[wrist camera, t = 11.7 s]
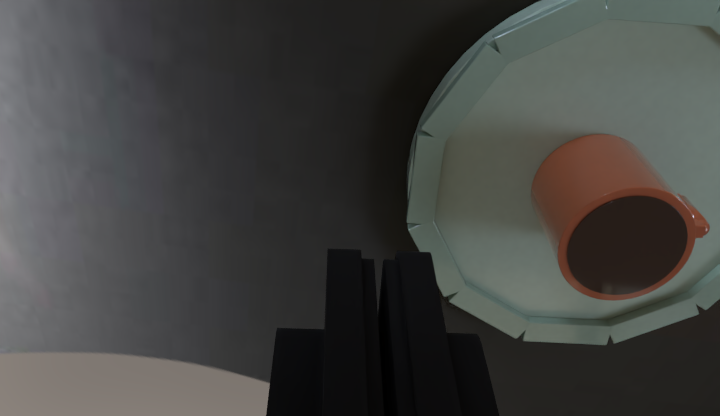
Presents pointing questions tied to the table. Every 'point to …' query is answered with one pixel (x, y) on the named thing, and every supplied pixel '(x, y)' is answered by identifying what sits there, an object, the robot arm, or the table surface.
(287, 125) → the table surface
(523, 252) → the plate
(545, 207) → the espresso cup
